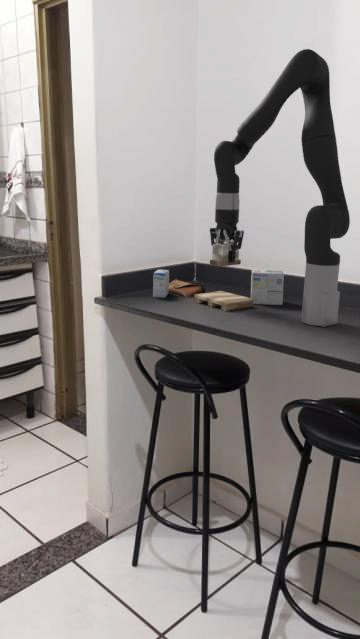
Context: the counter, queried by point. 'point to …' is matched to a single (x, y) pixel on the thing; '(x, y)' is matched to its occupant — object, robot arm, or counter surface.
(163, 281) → the medicine box
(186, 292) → the sunglasses case
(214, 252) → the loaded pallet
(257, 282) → the light bulb box
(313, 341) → the counter surface
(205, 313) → the counter surface
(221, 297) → the dock
